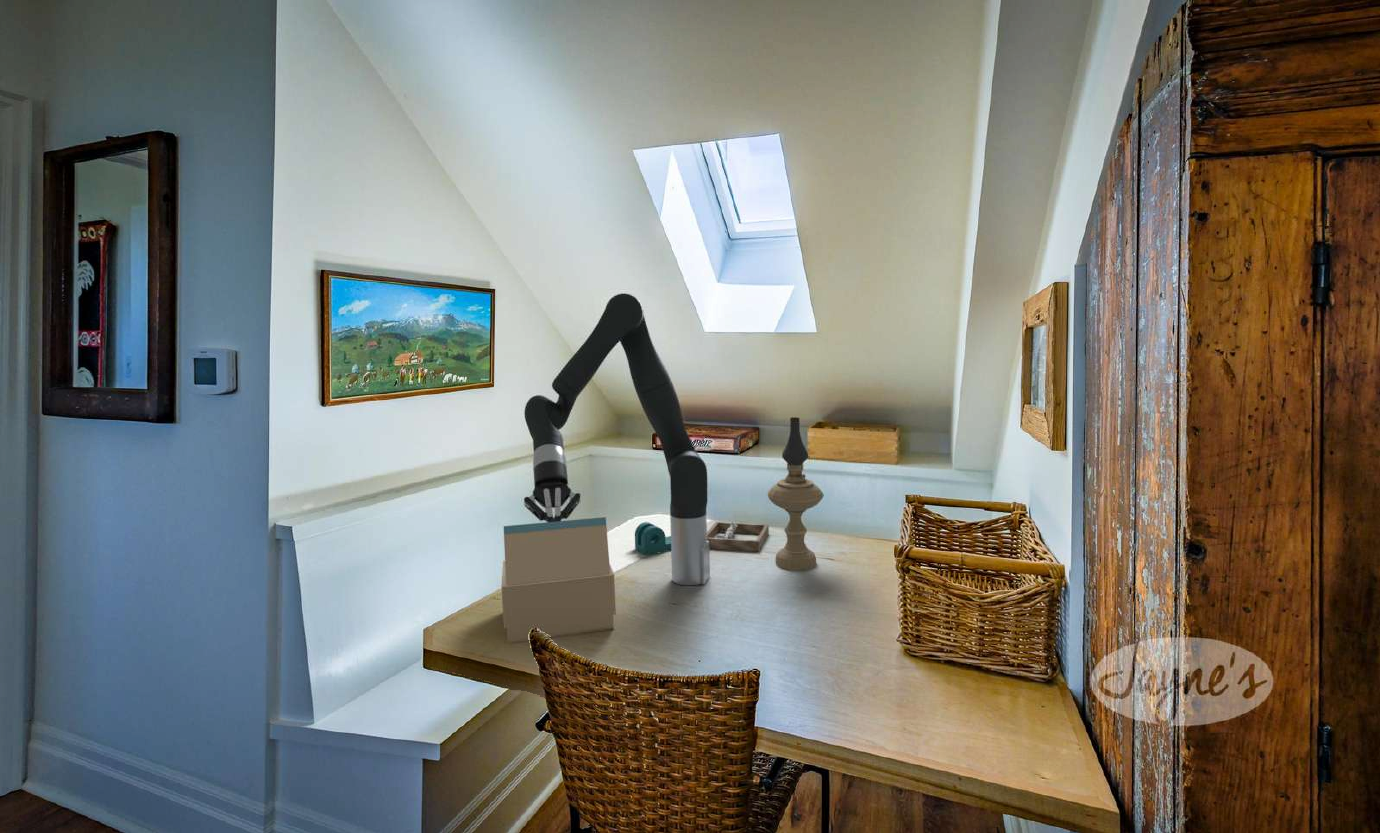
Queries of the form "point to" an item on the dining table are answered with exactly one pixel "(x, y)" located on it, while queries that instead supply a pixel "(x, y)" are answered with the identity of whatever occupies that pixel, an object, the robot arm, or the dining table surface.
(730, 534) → the soldier figure
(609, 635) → the dining table surface
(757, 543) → the wooden tray
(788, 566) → the oil lamp
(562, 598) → the tan open box
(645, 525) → the bracket
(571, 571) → the wooden box lid
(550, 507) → the robot arm
